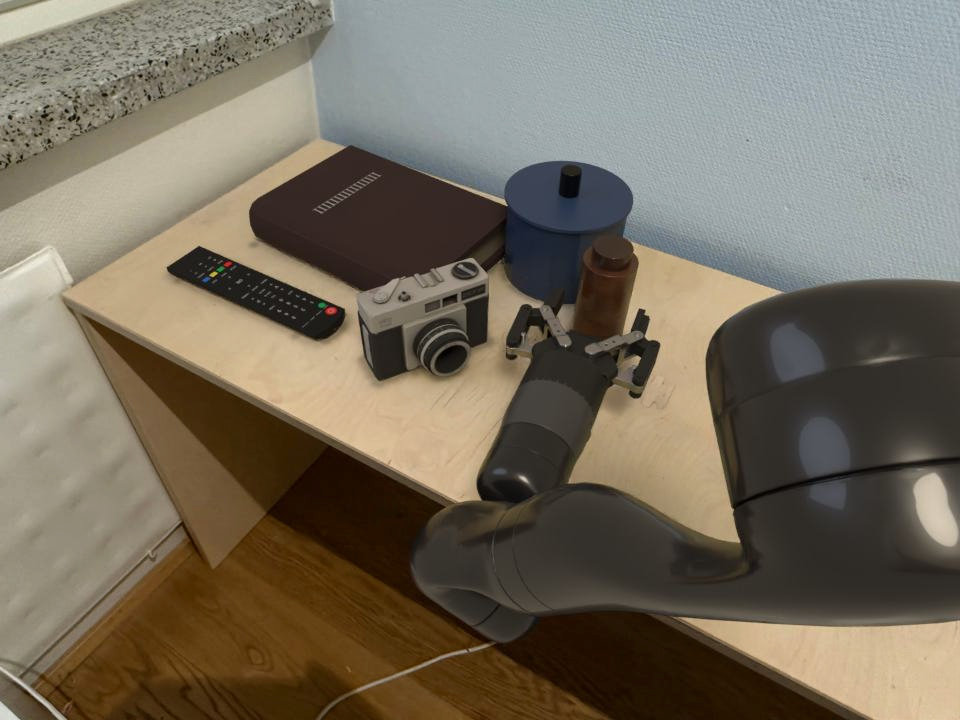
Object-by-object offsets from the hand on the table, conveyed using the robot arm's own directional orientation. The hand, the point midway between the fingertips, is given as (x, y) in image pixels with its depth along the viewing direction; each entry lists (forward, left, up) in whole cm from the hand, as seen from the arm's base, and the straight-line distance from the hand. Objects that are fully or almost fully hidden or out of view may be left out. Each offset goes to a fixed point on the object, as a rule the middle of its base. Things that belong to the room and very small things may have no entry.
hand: (600, 304), depth 70 cm
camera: (+15, +9, -7) cm, 19 cm away
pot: (+9, -13, -7) cm, 17 cm away
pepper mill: (0, -1, -7) cm, 7 cm away
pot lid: (+9, -13, +3) cm, 16 cm away
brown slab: (+31, -6, -7) cm, 33 cm away
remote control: (+39, +10, -7) cm, 41 cm away
